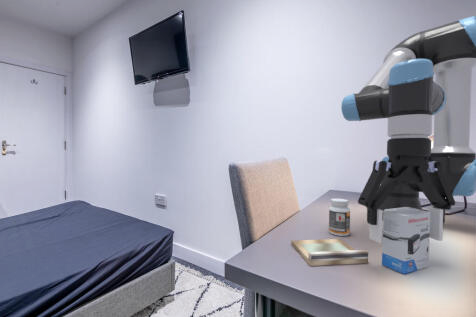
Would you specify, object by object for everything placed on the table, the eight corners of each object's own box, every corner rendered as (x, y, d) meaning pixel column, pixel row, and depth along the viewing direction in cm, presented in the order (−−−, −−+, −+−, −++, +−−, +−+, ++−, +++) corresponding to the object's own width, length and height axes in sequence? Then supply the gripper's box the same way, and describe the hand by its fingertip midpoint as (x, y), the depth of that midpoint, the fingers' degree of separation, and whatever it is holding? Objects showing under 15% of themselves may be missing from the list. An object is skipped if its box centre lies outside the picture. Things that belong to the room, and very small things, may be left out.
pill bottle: (352, 237, 69) (352, 202, 68) (330, 235, 70) (331, 201, 70) (347, 231, 74) (347, 198, 74) (327, 229, 75) (327, 197, 75)
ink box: (404, 275, 48) (405, 215, 47) (380, 264, 52) (381, 209, 52) (430, 267, 51) (432, 211, 51) (406, 257, 55) (407, 206, 55)
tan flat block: (338, 242, 65) (338, 233, 65) (368, 263, 53) (368, 251, 52) (291, 244, 63) (291, 234, 63) (310, 266, 51) (310, 254, 51)
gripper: (444, 140, 56) (441, 232, 56) (342, 137, 53) (339, 234, 53) (480, 138, 49) (477, 244, 49) (363, 135, 46) (361, 248, 46)
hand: (405, 239), depth 51 cm, fingers open, 13 cm apart
